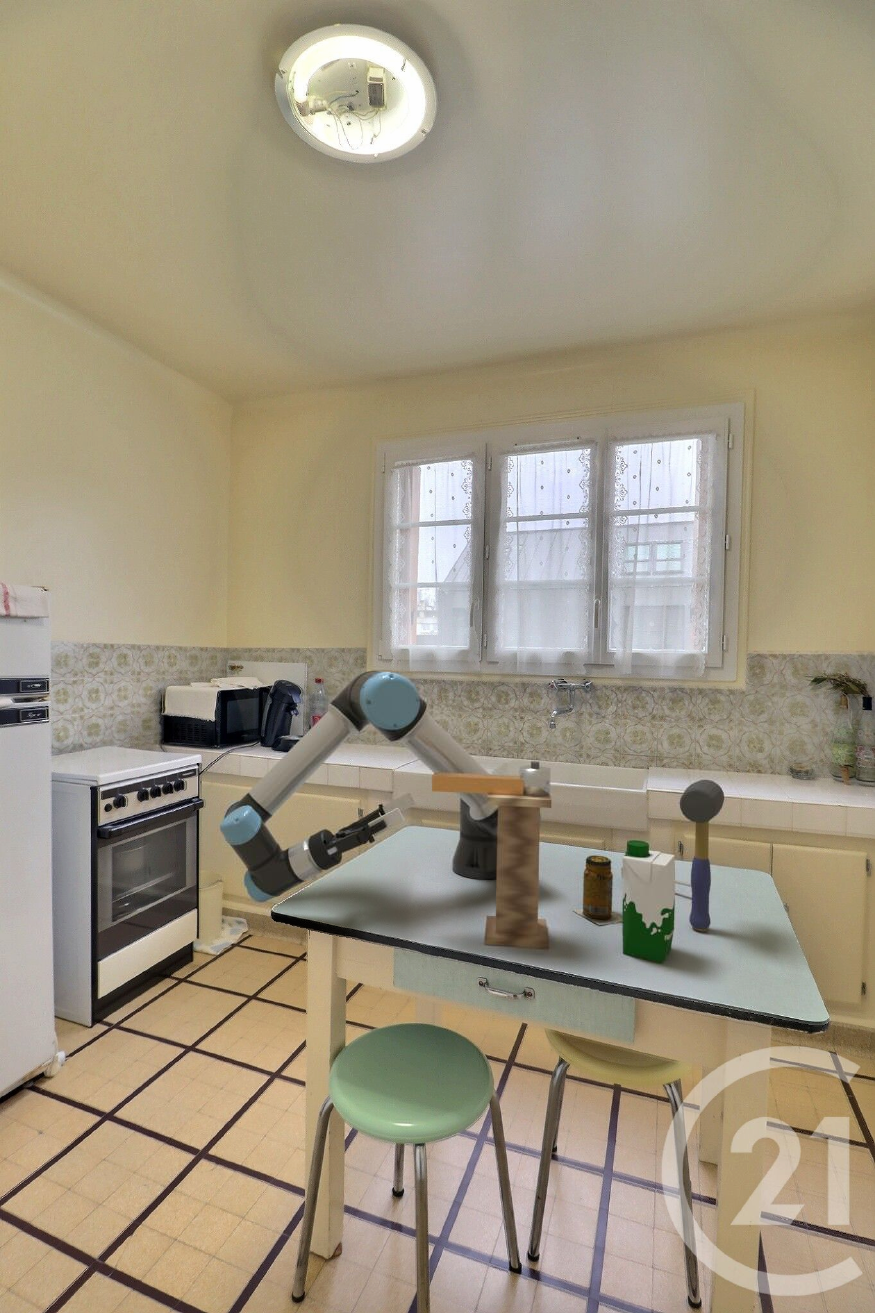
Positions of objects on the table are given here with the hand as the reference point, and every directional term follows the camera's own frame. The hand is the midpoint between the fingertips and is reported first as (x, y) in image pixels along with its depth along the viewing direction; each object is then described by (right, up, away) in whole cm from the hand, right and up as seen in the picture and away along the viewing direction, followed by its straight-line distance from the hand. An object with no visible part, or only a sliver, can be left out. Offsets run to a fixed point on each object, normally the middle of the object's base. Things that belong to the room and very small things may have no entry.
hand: (407, 805), depth 130 cm
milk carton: (+45, -26, -8) cm, 53 cm away
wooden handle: (+16, +3, -2) cm, 16 cm away
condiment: (+40, -25, +8) cm, 49 cm away
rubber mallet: (+59, -26, +2) cm, 65 cm away
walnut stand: (+22, -25, -2) cm, 33 cm away
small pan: (+58, -26, +25) cm, 68 cm away
